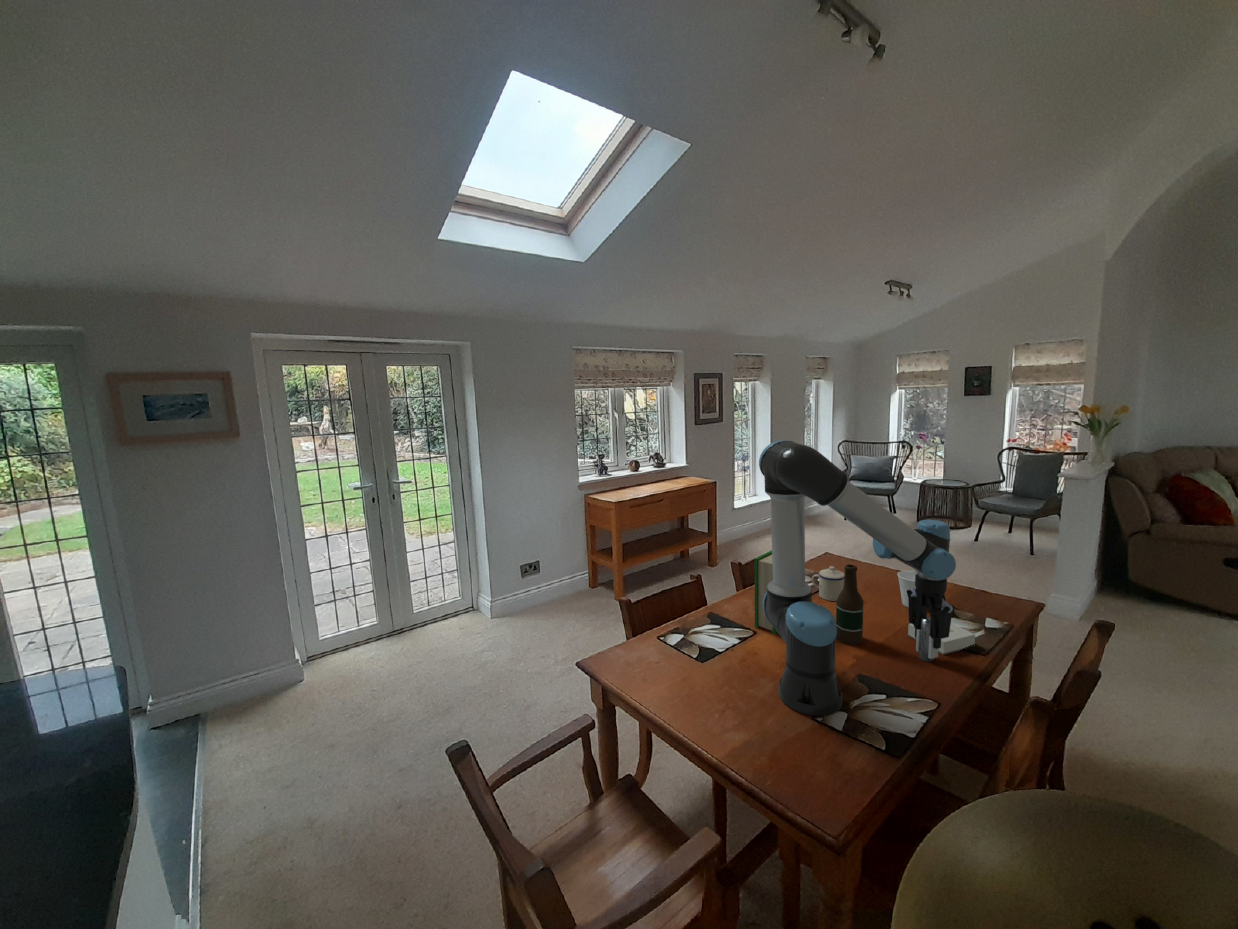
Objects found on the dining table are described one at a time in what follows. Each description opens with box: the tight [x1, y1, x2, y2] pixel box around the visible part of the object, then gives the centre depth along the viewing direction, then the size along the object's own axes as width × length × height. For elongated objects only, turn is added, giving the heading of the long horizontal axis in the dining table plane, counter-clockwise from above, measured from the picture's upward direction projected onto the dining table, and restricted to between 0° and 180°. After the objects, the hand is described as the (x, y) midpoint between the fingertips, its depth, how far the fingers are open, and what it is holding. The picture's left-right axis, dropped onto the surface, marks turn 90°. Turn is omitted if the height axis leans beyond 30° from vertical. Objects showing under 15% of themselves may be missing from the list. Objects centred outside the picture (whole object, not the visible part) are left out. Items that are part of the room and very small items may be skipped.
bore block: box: [907, 622, 976, 656], centre depth 149 cm, size 12×12×4 cm
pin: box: [919, 616, 935, 663], centre depth 140 cm, size 3×3×12 cm
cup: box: [897, 570, 917, 609], centre depth 173 cm, size 10×10×11 cm
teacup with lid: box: [811, 565, 845, 602], centre depth 185 cm, size 12×9×12 cm
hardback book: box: [753, 549, 779, 636], centre depth 165 cm, size 18×7×24 cm, turn 133°
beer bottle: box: [835, 563, 864, 646], centre depth 152 cm, size 8×8×24 cm
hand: (926, 653), depth 140 cm, fingers closed on pin, 3 cm apart
